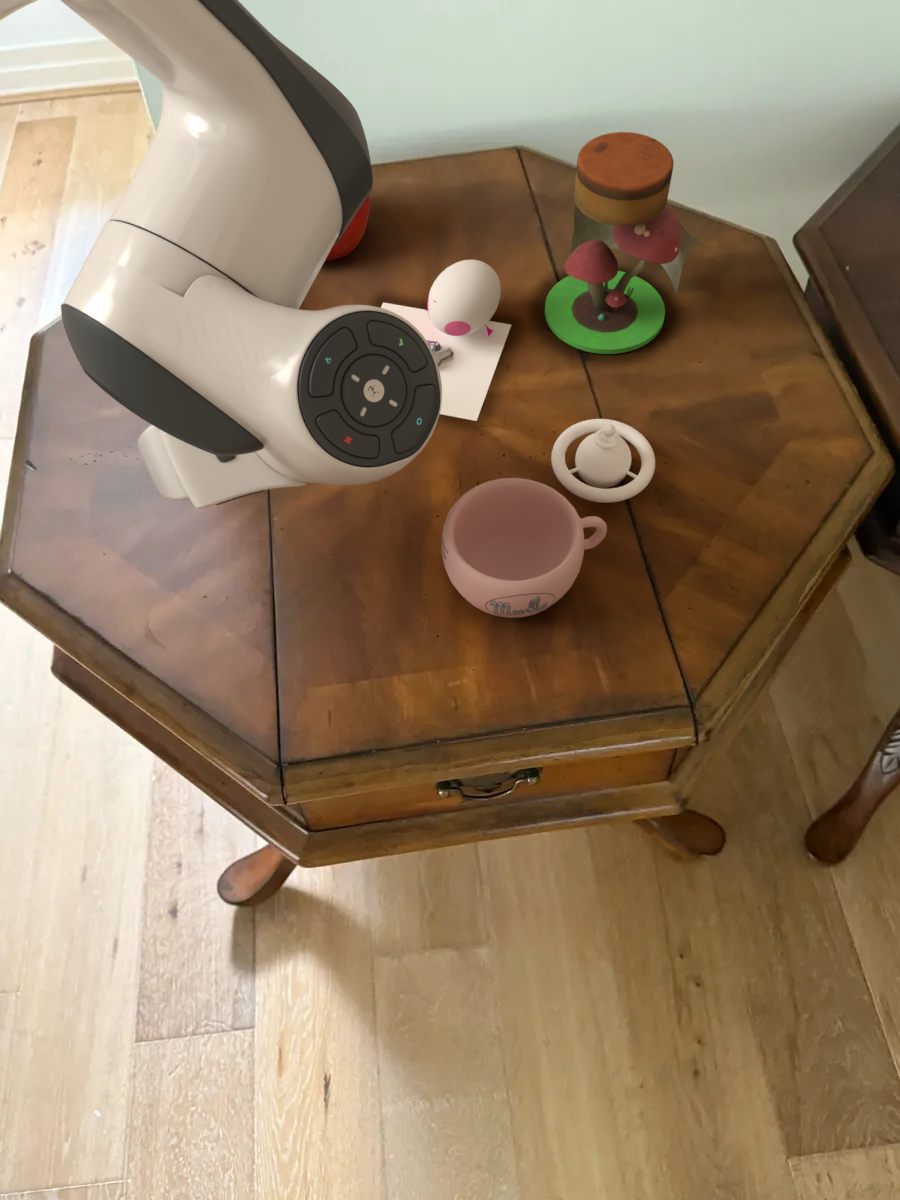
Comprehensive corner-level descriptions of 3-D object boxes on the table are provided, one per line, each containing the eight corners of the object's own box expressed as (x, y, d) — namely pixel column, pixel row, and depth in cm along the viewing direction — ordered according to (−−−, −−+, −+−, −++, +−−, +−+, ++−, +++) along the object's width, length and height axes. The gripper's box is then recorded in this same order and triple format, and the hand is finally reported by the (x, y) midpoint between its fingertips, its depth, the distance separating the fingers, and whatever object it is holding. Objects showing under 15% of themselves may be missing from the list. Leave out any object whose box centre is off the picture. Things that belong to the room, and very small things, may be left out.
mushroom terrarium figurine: (661, 376, 82) (695, 221, 69) (521, 340, 85) (529, 185, 72) (695, 289, 88) (732, 132, 75) (563, 258, 91) (577, 102, 78)
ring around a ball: (619, 423, 79) (531, 455, 77) (630, 373, 74) (536, 406, 73) (670, 494, 75) (579, 529, 74) (684, 446, 70) (587, 483, 69)
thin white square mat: (511, 324, 86) (511, 311, 85) (476, 421, 80) (476, 408, 78) (383, 302, 88) (381, 289, 87) (339, 394, 82) (337, 381, 80)
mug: (461, 648, 68) (460, 603, 63) (429, 539, 73) (425, 488, 68) (624, 611, 69) (635, 564, 64) (580, 506, 75) (587, 455, 70)
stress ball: (463, 322, 90) (426, 260, 87) (531, 302, 85) (494, 235, 82) (426, 371, 87) (385, 309, 83) (494, 353, 81) (453, 286, 78)
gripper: (444, 300, 60) (387, 328, 73) (126, 418, 55) (126, 426, 68) (479, 397, 61) (417, 408, 74) (172, 521, 57) (164, 509, 70)
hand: (276, 418), depth 71 cm, fingers open, 8 cm apart
